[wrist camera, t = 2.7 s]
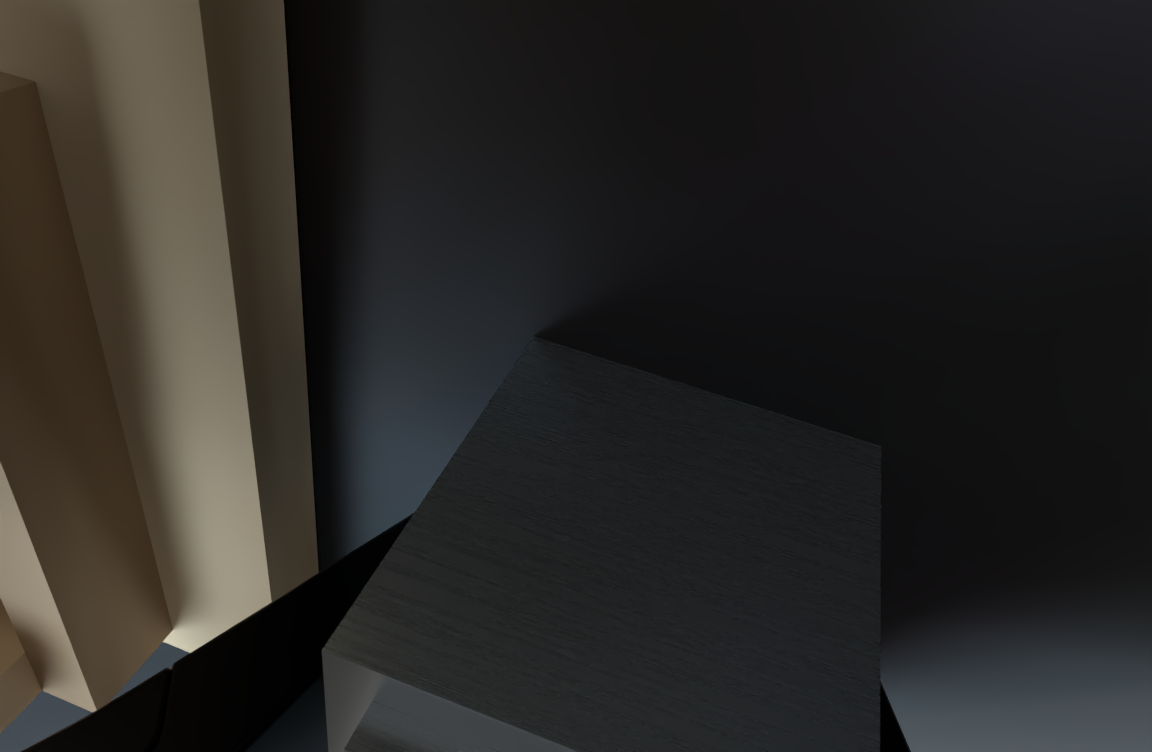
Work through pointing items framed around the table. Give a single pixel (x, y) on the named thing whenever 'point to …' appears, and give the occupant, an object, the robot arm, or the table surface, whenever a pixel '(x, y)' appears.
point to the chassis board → (145, 337)
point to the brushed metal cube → (623, 580)
